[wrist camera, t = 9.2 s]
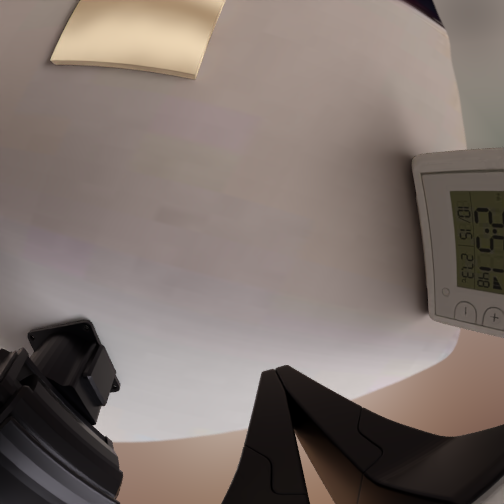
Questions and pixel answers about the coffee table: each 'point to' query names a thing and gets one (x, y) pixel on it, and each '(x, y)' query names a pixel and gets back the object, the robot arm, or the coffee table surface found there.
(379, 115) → the coffee table surface
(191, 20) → the board
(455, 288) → the digital clock
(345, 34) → the coffee table surface
